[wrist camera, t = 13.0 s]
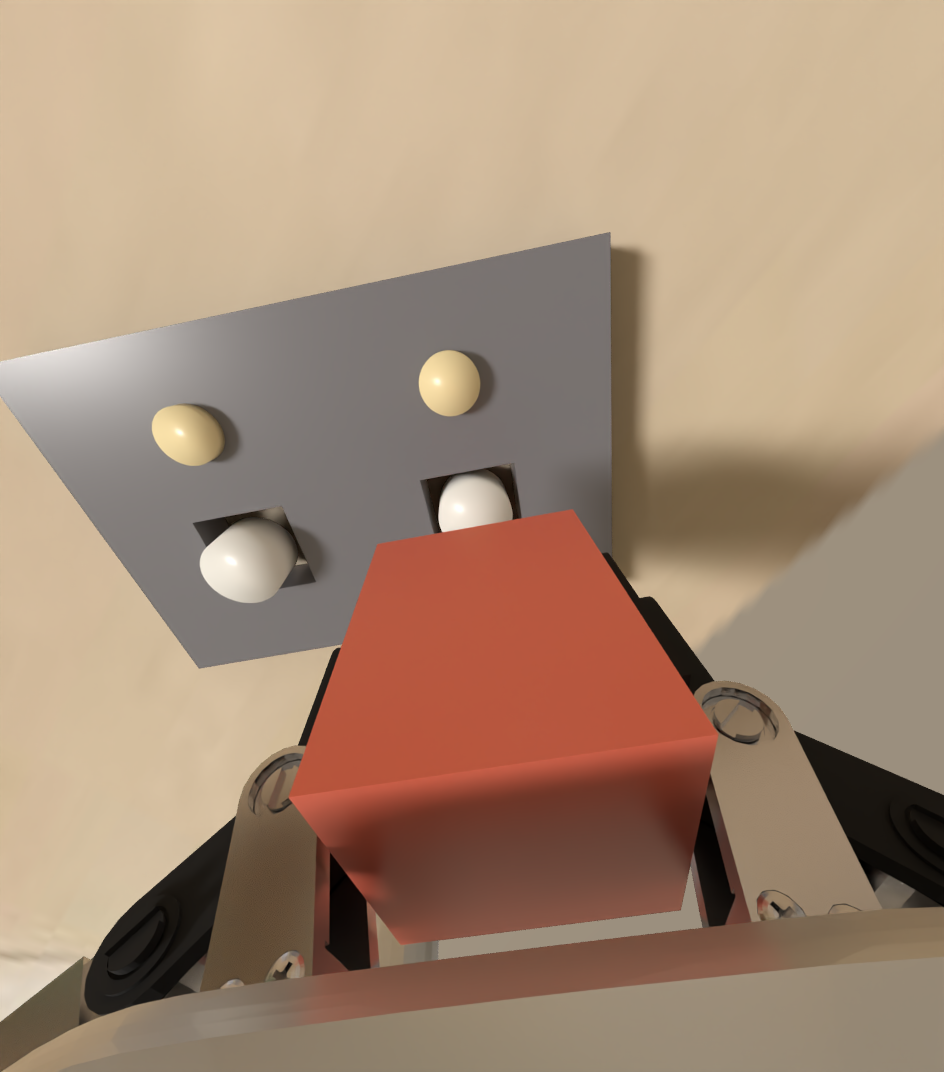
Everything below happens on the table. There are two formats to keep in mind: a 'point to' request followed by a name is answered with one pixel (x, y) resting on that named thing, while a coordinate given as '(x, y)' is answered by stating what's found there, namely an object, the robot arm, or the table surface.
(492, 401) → the panel
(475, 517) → the cream egg in tray
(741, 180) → the table surface
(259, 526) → the white egg
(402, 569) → the cap
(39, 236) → the table surface
